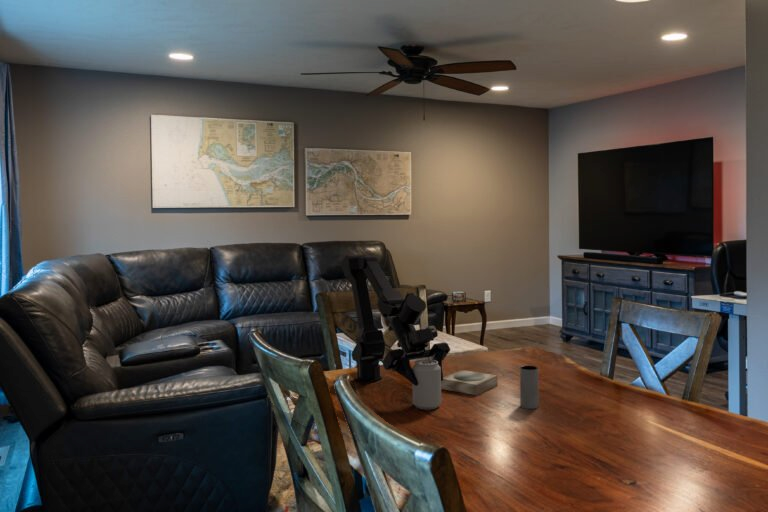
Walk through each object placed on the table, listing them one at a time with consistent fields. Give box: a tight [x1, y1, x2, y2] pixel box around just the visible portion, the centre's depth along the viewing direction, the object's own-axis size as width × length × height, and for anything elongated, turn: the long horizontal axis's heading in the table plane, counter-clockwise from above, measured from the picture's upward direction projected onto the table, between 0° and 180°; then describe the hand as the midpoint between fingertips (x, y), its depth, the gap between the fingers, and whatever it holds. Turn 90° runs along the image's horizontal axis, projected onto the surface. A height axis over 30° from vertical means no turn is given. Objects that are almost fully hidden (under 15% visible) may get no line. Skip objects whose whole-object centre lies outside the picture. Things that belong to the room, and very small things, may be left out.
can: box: [411, 358, 442, 411], centre depth 161 cm, size 8×8×12 cm
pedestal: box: [441, 369, 498, 396], centre depth 179 cm, size 12×12×3 cm
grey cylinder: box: [519, 365, 539, 410], centre depth 160 cm, size 4×4×10 cm
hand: (429, 382), depth 160 cm, fingers closed on can, 7 cm apart
